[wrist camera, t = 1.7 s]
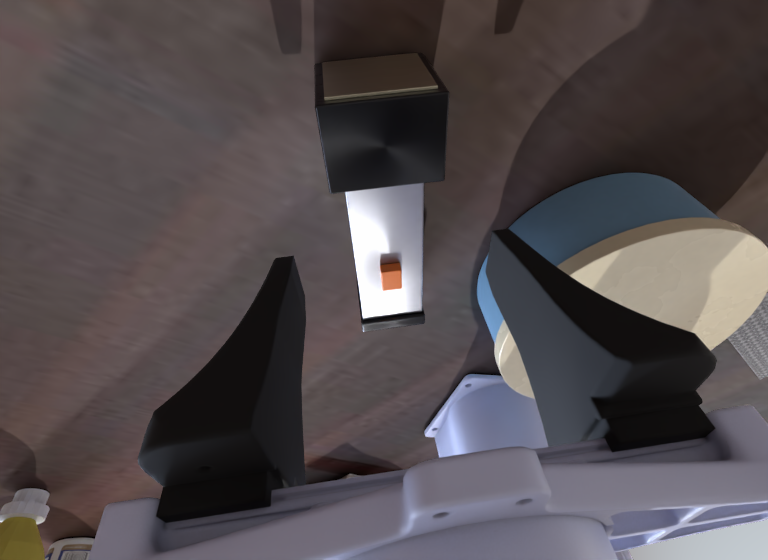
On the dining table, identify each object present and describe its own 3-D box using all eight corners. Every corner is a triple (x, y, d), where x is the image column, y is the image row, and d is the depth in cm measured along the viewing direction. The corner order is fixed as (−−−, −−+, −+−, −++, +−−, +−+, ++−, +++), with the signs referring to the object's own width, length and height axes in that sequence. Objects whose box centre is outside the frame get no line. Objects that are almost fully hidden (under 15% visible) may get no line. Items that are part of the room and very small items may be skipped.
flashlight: (420, 280, 23) (436, 335, 20) (350, 289, 23) (356, 346, 20) (423, 49, 15) (450, 87, 12) (313, 60, 14) (314, 102, 12)
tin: (599, 344, 30) (637, 405, 27) (438, 328, 26) (458, 397, 23) (753, 194, 22) (840, 254, 18) (549, 139, 18) (608, 201, 14)
